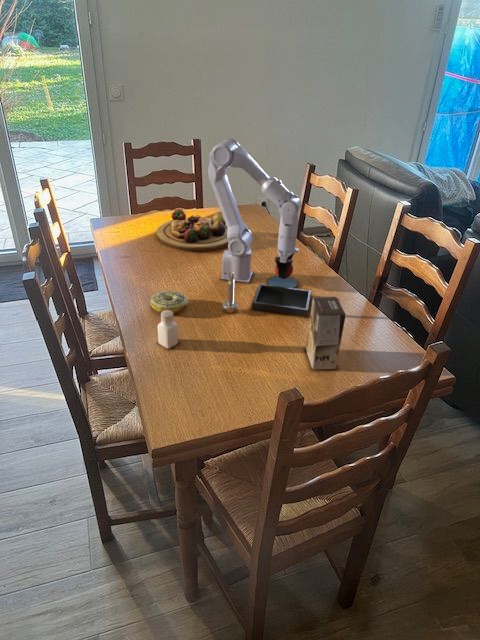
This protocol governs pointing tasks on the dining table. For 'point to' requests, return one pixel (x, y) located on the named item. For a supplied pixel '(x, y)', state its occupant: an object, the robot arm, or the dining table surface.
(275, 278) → the mat
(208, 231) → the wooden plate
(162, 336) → the salt shaker
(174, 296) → the decorated donut
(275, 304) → the tray
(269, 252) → the dining table surface
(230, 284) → the screw
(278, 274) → the onion
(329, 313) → the coffee box
